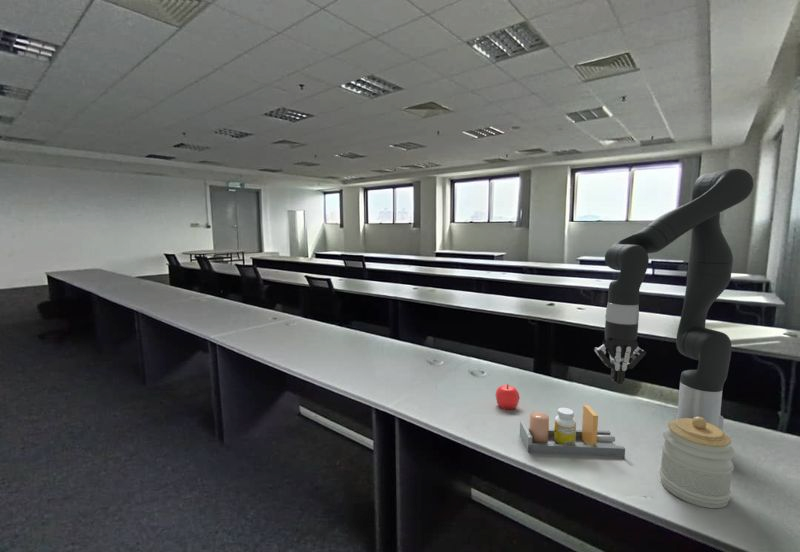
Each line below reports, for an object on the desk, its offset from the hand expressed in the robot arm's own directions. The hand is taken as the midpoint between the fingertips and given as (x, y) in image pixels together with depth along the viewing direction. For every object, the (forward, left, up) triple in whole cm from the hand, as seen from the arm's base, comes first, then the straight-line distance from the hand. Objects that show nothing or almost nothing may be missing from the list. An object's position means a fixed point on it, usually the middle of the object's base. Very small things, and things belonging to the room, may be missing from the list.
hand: (617, 382), depth 102 cm
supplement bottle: (+13, 0, -18) cm, 23 cm away
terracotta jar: (+20, 0, -18) cm, 27 cm away
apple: (+24, -24, -19) cm, 39 cm away
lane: (+12, 0, -19) cm, 22 cm away
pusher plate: (+4, 0, -18) cm, 18 cm away
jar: (-10, +16, -19) cm, 27 cm away
